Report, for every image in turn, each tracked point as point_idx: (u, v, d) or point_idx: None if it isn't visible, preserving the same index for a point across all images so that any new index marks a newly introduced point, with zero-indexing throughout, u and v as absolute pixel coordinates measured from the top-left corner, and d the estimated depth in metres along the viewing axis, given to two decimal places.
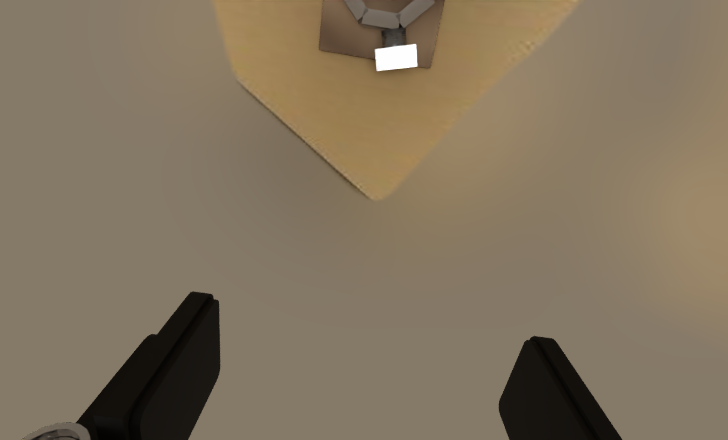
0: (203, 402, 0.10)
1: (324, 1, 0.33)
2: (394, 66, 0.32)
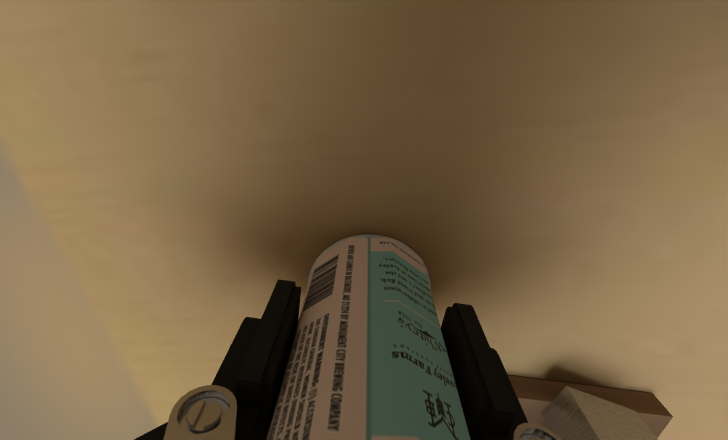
0: None
1: None
2: None
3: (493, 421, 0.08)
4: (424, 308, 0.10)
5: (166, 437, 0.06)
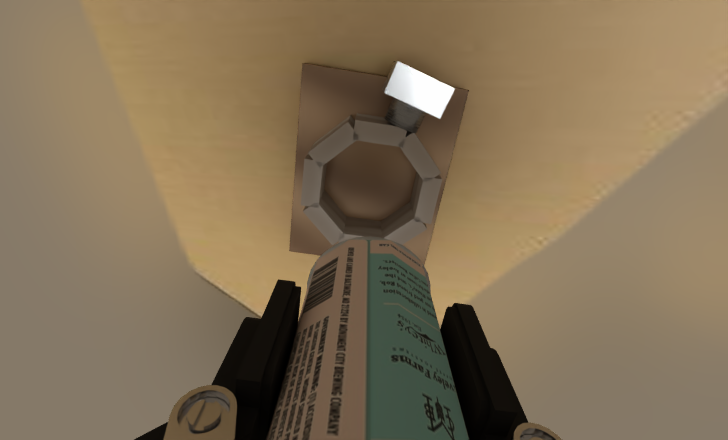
0: None
1: (294, 204, 0.27)
2: None
3: (493, 421, 0.08)
4: (424, 311, 0.10)
5: (166, 437, 0.06)
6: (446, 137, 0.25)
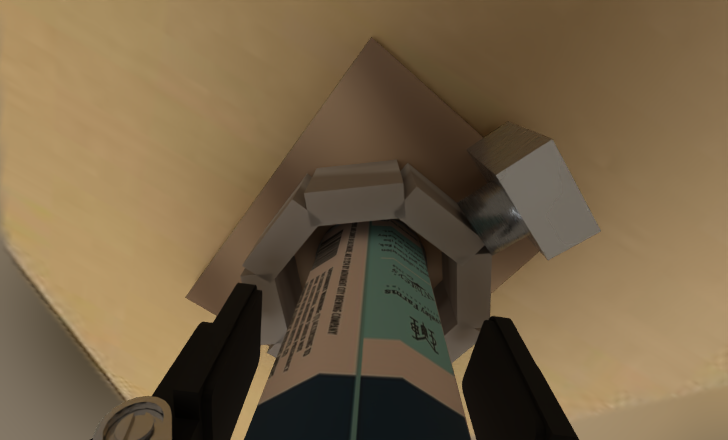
0: (248, 386, 0.11)
1: (230, 239, 0.15)
2: None
3: None
4: (417, 269, 0.11)
5: None
6: (505, 262, 0.16)
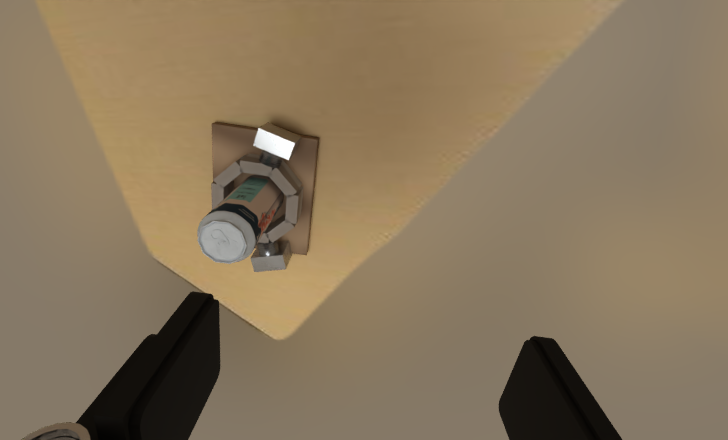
0: (203, 402, 0.10)
1: None
2: (267, 269, 0.40)
3: None
4: (255, 185, 0.35)
5: None
6: (308, 168, 0.38)
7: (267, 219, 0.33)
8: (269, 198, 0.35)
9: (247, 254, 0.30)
